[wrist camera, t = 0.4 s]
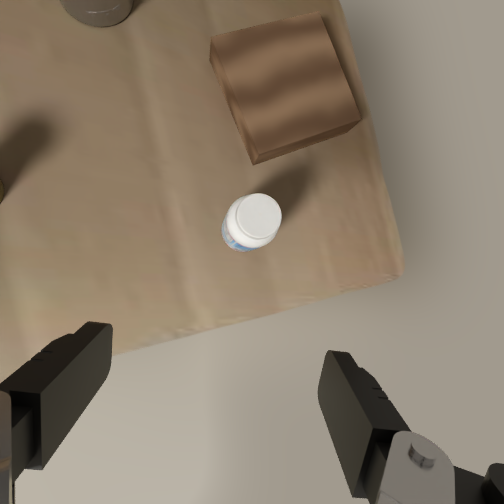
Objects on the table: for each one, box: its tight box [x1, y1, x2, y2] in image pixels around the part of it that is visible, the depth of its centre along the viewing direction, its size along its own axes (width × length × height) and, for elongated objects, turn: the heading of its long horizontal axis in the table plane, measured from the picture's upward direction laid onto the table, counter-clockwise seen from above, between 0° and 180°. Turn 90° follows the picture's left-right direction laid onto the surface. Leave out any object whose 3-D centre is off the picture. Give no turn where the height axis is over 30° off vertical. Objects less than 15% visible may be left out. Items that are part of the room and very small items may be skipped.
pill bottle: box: [221, 193, 282, 252], centre depth 34 cm, size 6×6×11 cm
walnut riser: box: [210, 11, 362, 165], centre depth 39 cm, size 16×16×4 cm
